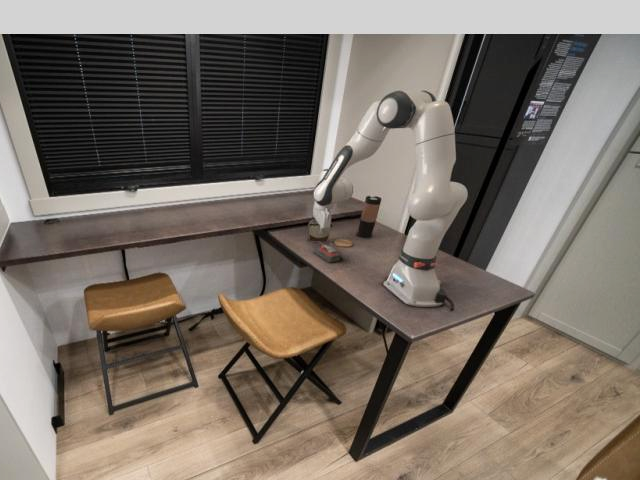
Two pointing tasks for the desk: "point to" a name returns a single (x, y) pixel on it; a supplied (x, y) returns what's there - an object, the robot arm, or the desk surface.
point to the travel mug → (369, 216)
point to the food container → (314, 232)
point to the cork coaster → (343, 243)
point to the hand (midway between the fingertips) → (319, 231)
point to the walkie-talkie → (328, 253)
